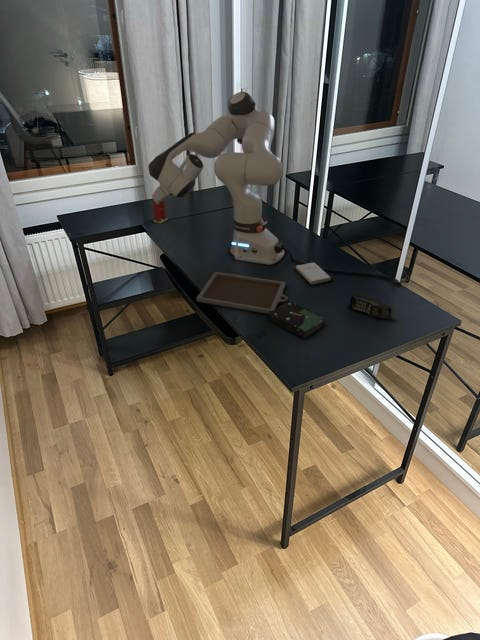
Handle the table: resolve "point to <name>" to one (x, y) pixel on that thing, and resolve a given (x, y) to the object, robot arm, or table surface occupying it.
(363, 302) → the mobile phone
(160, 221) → the tile
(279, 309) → the disk drive
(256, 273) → the table surface
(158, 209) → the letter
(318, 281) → the hard drive
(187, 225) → the table surface
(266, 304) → the brown grey flat panel
